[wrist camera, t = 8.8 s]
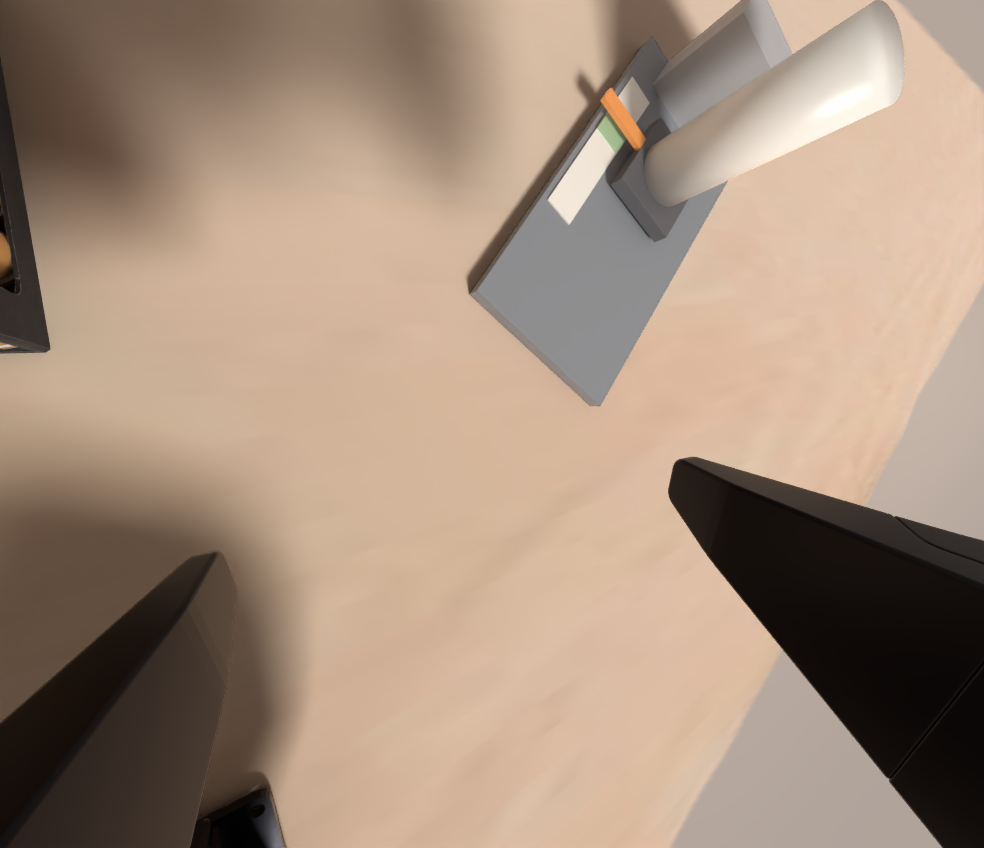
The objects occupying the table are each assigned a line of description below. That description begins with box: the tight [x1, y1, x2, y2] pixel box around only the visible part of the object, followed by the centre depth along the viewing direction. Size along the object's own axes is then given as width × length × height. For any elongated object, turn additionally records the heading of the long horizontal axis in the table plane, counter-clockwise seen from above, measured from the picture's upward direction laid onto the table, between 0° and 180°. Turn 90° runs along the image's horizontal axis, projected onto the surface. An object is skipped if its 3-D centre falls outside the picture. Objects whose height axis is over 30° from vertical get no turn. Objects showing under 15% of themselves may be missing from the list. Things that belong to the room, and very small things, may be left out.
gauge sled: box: [600, 0, 905, 242], centre depth 18 cm, size 4×7×10 cm, turn 55°
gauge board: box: [470, 0, 792, 406], centre depth 21 cm, size 18×9×6 cm, turn 145°
